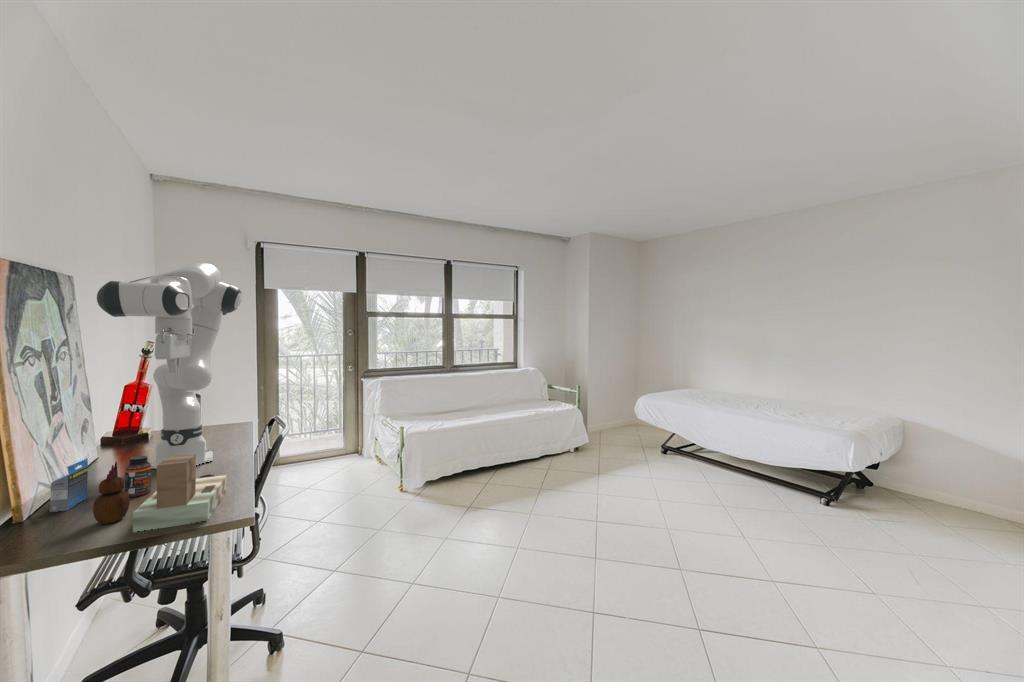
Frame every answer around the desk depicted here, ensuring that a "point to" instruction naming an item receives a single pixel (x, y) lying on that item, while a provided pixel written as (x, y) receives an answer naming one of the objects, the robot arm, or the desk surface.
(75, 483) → the label tape box
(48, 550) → the desk surface
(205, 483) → the trap runway
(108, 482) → the wooden figurine
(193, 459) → the walnut block
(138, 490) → the supplement bottle
